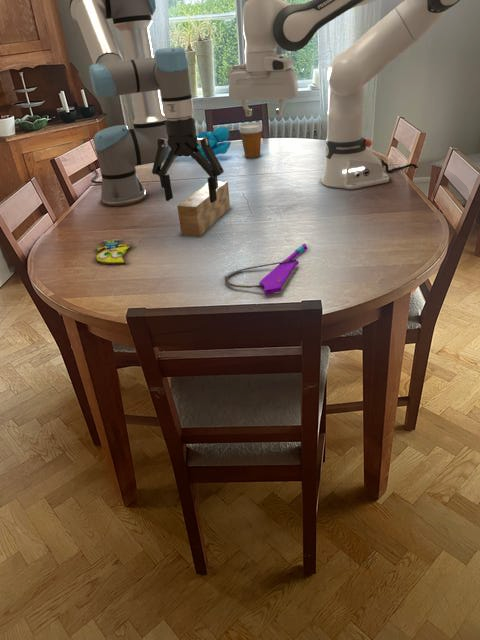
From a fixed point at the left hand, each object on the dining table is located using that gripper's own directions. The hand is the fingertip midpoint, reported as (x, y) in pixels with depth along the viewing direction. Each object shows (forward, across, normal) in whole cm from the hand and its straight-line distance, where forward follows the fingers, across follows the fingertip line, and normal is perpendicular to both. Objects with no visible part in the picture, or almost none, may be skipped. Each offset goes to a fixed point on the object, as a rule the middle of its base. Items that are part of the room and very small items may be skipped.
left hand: (191, 200), depth 132 cm
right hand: (-16, +12, +29) cm, 36 cm away
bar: (+9, 0, +9) cm, 13 cm away
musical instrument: (+10, +28, -19) cm, 35 cm away
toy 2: (+8, -34, +74) cm, 82 cm away
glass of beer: (+8, -12, +80) cm, 81 cm away
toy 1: (+9, -16, -18) cm, 26 cm away
